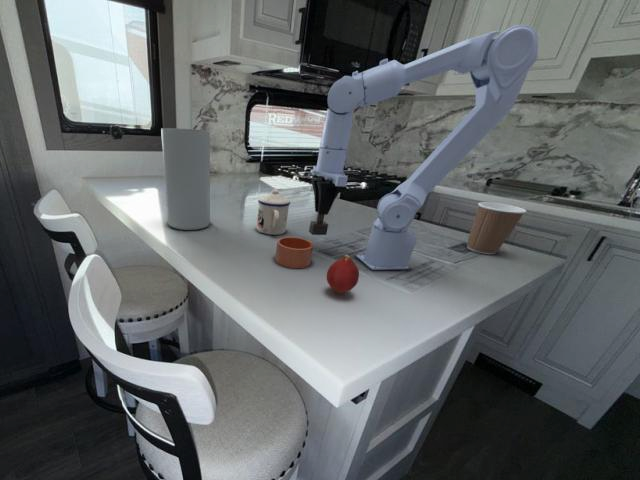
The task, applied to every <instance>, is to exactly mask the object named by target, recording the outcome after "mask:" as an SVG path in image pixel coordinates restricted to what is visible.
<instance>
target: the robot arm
mask: <svg viewBox="0 0 640 480" xmlns="http://www.w3.org/2000/svg"><path fill="white" fill-rule="evenodd" d="M500 32H501V29H500V30H495V31H490V32H487V33H484V34H481V35H477V36H473V37H470V38H467V39H464V40H462V41H460V42H458V43H455V44H452V45H450V46H448V47H445V48H443V49H440V50H438V51H435V52H433V53H430V54H428V55H425V56H423V57H420V58H418V59H415V60H413V61H411V62H408V63H405V64H403V63H401V62H399V61H398V60H396V59H393V60H389V59H388V58H383V59H382V60H380V61H379V65H377V66H374V67H371V68H368V69H366V70H364V71H362V72H359V71H358V70H355V71H353V72H352V74H351V75H344V76H342V77H341V78H339V79H337V80H336V81H335V82H334V83H333V84H332V85H331V87H330V88H329V91H328V94H327V106H328V108H327V109H326V112H325V117H324V118H325V121H324V122H323V126H322V131H321V137H320V143H319V149H318V155H317V162H316V165H313V167H312V169H310V174H311V175H313V176H316V177H317V178H311V179H310V183H311V186H312V191H313V196H314V197H313V198H314V212H316V213H317V215H318V214H320V215H324V216H326V215H327V216H328V215H329V213H330V210H331V209H332V207H333V204H334V202H335V200H336V198H338V196H339V194H340V193H341V191H342V190H343V189H344V188H345V187H347V183H348V178H349V176H348V175H346V174H345V172H344V169H345V168H344V167H345V164H346V159H347V153H348V149H349V145H350V144H349V143H350V139H351V134H352V129H353V118H354V112H355V110H354V109H355V108H356V107H357V106H358V107H360V108H365V107H368V106H371V105H374V104H378V103H380V102H382V101H385V100H389V99H391V98H394V97H397V96H398V95H399V94H400V92H401V91H402V89H403V88H404V87H405V86H406V85H408V84H411V83H415V82H417V81H420V80H424V79H427V78H429V77H433V76H436V75H439V74H442V73H446V72H448V71H454V72H456V73H459V74H461V75H464V74H465V75H466V74H467V73H469V77H470V79H471V81H472V83H473V86H474V88H475V105H474V107H473V108H472V109H471V110H470V111H469V112H468V113H467V115H465V116H464V118H463V119H462V120H460V121H459V123H458V124H457V125H456V126H455V127H454V129H452V131H450V133H449V134H448V135H447V136H446V137H445V138H444V139H443V140H442V142H441V143H440V144H439V145H438V146H437V147H436V148H435V149H434V151H432V152H431V154H430V155H429V156H428V157H427V158H426V159H425V160H424V161H423V162H422V163H421V164H420V166H419V167H418V168H417V169H416V170H415V171H414V172H413V173H412V174H411V175H410V176H409V178H407V179H406V180H405V181H403V182H402V183H400V184H398V185H397V187H396V188H395V189H394V190H392V191H391V192H390V193H386V194H385V195H384V196H382V197H381V198H380V199H379V201H378V203H377V205H376V212H377V215H378V217H377V219H376V220H374V221H373V223H372V225H371V226H372V227H371V229H370V234H369V238H368V241H367V245H366V248H365V251H364V254H356V258H357V259H359V260H360V261H361V262H362V263H363V264H364V265H366V267H368V268H369V269H370V270H372V271H383V270H385V271H386V270H387V271H389V270H391V271H392V270H409V268H410V266H408V265H409V263H410V262H409V261H410V259H411V257H412V254H413V251H414V248H415V246H416V242H417V235H416V234H417V233H416V232H415V230H414V229H413V228H411V227H410V225H411V224H412V223H413V221H414V219H415V216H416V214H417V212H418V211H419V210H420V209H421V208H422V207H423V205H424V203H425V201H426V198H427V196H428V195H429V193H431V191H433V189H435V188H436V187H437V185H439V183H440V182H441V181H442V180H444V179H445V177H446V176H448V174H449V173H450V172H451V171H452V170H454V168H456V166H457V165H458V164H460V162H461V161H462V160H463V159H464V158H465V157H466V156H467V155H468V154H469V153H470V152H471V151H472V150H473V149H474V148H475V147H476V146H477V145H478V144H479V143H480V142H481V141H482V140H483V139H484V138H485V137H486V136H487V135H488V134H489V133H490V132H491V131H492V130H493V129H494V128H495V127H496V125H498V124H499V123H500V122H501V121H502V120H503V119H504V117H506V116H507V115H508V114H509V113H510V111H512V109H513V108H514V106H515V104H516V102H517V99H518V97H519V94H520V92H521V89H522V88H523V85H524V83H525V81H526V78H527V75H528V73H529V71H530V70H531V68H532V67H533V66H534V65H535V63H536V62H537V60H538V56H539V55H538V51H539V38H538V37H539V36H538V32H537V31H536V29H535V28H534V27H532V26H531V25H528V24H516V25H513V26H511V27H509V28H507V29H505V30H504V31H503V32H501V33H500ZM499 33H500V34H499ZM496 35H497V36H496Z"/></svg>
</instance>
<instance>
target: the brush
mask: <svg viewBox="0 0 640 480" xmlns="http://www.w3.org/2000/svg"><path fill="white" fill-rule="evenodd" d="M324 219H325V215H320V214H318V213H317V215H316V220H313V221H310V223H309V229H308V232H309V234H310V235H312V236H313V235H314V236H326V235H328V234H327V233H328V229H329V223H328V222H327V221H324Z"/></svg>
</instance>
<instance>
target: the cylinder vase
mask: <svg viewBox="0 0 640 480" xmlns="http://www.w3.org/2000/svg"><path fill="white" fill-rule="evenodd" d="M160 132H161V133H160V135H161V147H162V160H163V161H162V163H163V174H164V175H163V176H164V177H163V178H164V191H165V204H166V205H165V206H166V217H167V225H169V226H170V227H171V228H173V229H176V230H181V231H197V230H202V229H205V228H207V227H209V226H210V223H211V131H210V130H207V129H206V130H205V129H193V128H178V127H177V128H174V127H173V128H171V127H164V128H162V127H161V128H160Z"/></svg>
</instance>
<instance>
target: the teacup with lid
mask: <svg viewBox="0 0 640 480" xmlns="http://www.w3.org/2000/svg"><path fill="white" fill-rule="evenodd" d="M257 202H258V206H257V219H256V220H257V221H256V230H257V231H258V232H259V233H261V234H264V235H269V236H278V235H283V234H285V233H286V231H287V224H288V215H289V210H290V209H289V208H290V205H291V200H290V199H289V198H288V197H285V196H284V195H282V194H281V193H280V191H279V189H277V188H275V189H274V188H273V189H272V190H271V192H270V193H267V194H265V195H261V196H260V197H258V200H257Z"/></svg>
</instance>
